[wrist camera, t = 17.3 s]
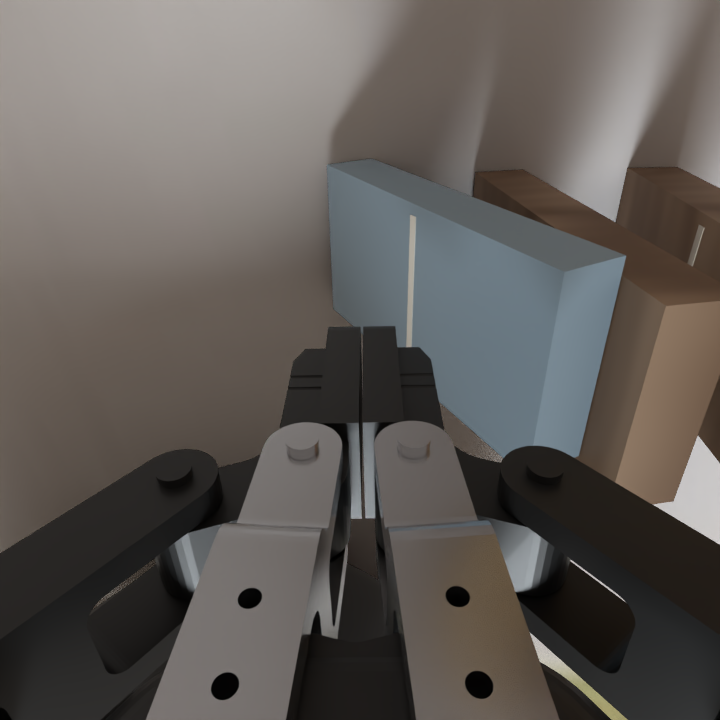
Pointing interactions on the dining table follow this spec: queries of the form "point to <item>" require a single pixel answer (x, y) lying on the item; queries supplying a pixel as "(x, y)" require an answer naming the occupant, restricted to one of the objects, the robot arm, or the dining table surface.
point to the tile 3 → (678, 237)
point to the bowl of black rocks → (356, 616)
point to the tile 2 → (635, 343)
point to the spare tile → (476, 300)
